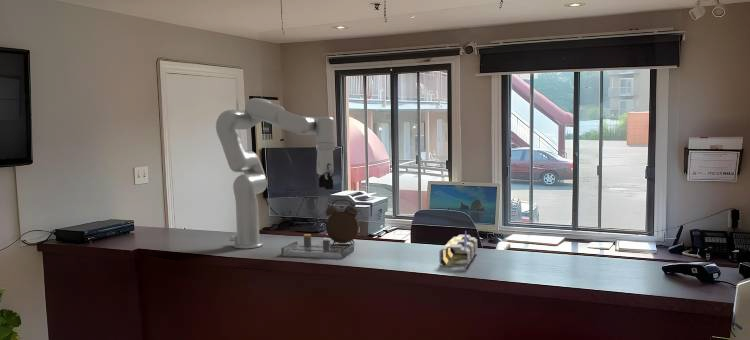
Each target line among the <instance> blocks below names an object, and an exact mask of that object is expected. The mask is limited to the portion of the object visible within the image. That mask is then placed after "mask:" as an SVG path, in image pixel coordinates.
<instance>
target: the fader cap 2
mask: <svg viewBox="0 0 750 340" xmlns="http://www.w3.org/2000/svg"><path fill="white" fill-rule="evenodd" d="M322 245H323V250H326V251H329V250H330V246H331V238H330V237H324V238H322Z"/></svg>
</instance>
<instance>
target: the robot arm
mask: <svg viewBox="0 0 750 340" xmlns="http://www.w3.org/2000/svg"><path fill="white" fill-rule="evenodd" d="M262 122H265V123H268V124H270V125H274V126H276V127H278V128H280V129H282V130H284V131H287V132H290V133H292V134H296V135H300V136H305V135H306V136H307V135H308V136H311V135H312V136H313V135H314V136H315V147H316V148H315V149H316V151H317V152H316V153H317V154H316V174H318V187H319V188H324V189H325V190H326V191H327V190H333V189H334V177H333V176H334V174H333V173H334V168H335V167H334V166H335V165H334V153H333V151H335V119H334V118H333V117H331V116H320V117H315V116H314V117H313V116H302V115H299V114H296V113H293V112H290V111H287V110H286V109H285V108H284V106H282V105H279V104H277V103H273V102H271V101H270V100H268V99H266V98H259V97H253V98H250V99H248V100H247V101H246V102H245V104H244V110H243V109H242V110H241V109H227V110H224V111H223V112H221V113H220V114H219V115H218V117H217V119H216V122H215V130H216V131H215V132H216V135H217V138H218V139H219V141H220V144H221V146H222V149H223V153H224V154H225V158H226V161H227V164H228V166H229V169H230V170H231V171H232V172H234V173H243V174H240V175H239V176H237V177H236V178H235V179H234V182H233V185H232V189H233V194H234V198H235V199H234V201H235V212H236V213H235V214H236V235H235V236H233V235H231V236H230V237H229V242H234V243H233V248H235V249H244V250H245V249H246V250H247V249H255V248H259V247H263V245H264V242H263V241H262V240H261V241H260V219H259V218H260V217H259V202H258V198H257V196H256V195H260V194H262V193H264V191H266V189H267V187H268V180H267V177H266V174H265V170H264V168H263V164H262V161H261V160H260V157H259V156H258V155H257V153H256V152H254V151H252V150H250V149H249V150H246V149H245V147H244V145H243V142H242V139H241V137H240V136H239V134H238V133H237V131H236V130H248V129H251V128H253V127H255V126H256V125H258V124H260V123H262Z"/></svg>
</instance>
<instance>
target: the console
mask: <svg viewBox="0 0 750 340" xmlns="http://www.w3.org/2000/svg"><path fill="white" fill-rule="evenodd" d="M280 249H281V250H280V251H281V253H280V255H281V257H295V258H297V257H298V258H315V257H316V258H319V259H341V260H343V259H345V258H347V257H348V256H350V255H351V254H353V253H354V252H355V243H352V244H351V243H350V244H348V245H347V246H346V245H330V250H329V251H326V250H323V244H320V245H319V244H311V246H304V244H298V241H293V242H291V243H289V244H287V245H285V246H283V247H280ZM346 256H347V257H346Z"/></svg>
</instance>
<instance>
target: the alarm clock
mask: <svg viewBox="0 0 750 340" xmlns="http://www.w3.org/2000/svg"><path fill="white" fill-rule="evenodd" d="M340 201H341V202H342V201H344V202H345V201H346V202H349V203H350V204H348V205H347V206H345V208H344V205H341V206H339V207H340V208H341V209H339V208H338V207H337V205H334V204H335V203H336V202H340ZM343 208H344V209H343ZM358 213H359V210H358V206H356V203H353V202H352V201H351V200H350V199H345V198H343V199H342V198H340V199H336V200H335V199H334V201H332V204H331V205H330V204H327V208H326V210H325V214H326V217H328V218H327V221H326V224H325V229H326V230H325V231H326V234H327V235H328V238H330V240H332V241H333V243H332V245H334V243H335V244H336V243H337V244H348V243H350V244H356V242H355V241H354V239H355V238H356V237H357V235H358V234H359V230H360V221H359V219H358V217H357V216H358ZM352 242H353V243H352Z"/></svg>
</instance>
